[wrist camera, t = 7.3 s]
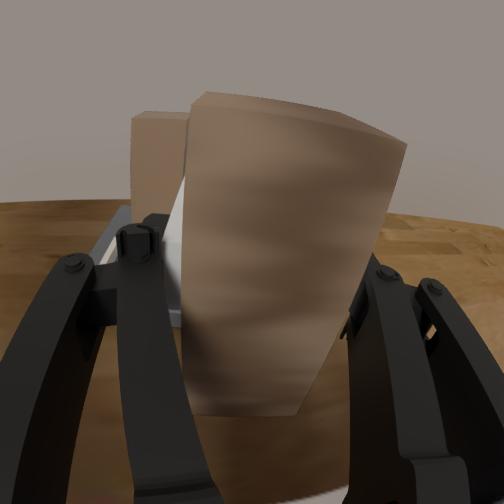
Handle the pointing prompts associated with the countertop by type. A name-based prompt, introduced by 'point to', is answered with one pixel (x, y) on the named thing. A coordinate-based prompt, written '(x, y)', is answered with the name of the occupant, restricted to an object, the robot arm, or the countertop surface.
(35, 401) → the robot arm
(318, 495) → the countertop surface
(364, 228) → the pillar
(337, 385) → the countertop surface
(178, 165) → the baseplate
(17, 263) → the countertop surface
